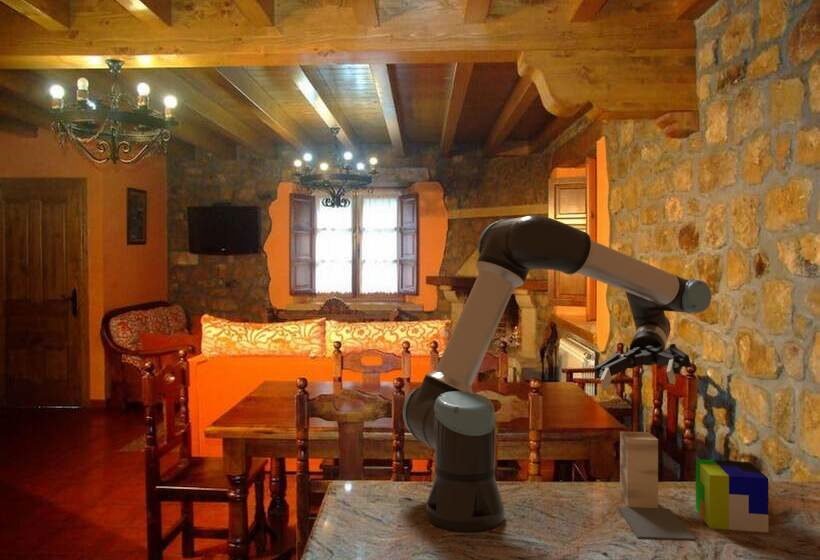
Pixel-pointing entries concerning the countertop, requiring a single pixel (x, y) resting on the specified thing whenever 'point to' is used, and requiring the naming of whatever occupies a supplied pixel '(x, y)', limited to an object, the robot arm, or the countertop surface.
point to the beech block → (639, 469)
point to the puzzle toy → (732, 495)
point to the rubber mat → (655, 523)
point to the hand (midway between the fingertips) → (635, 381)
